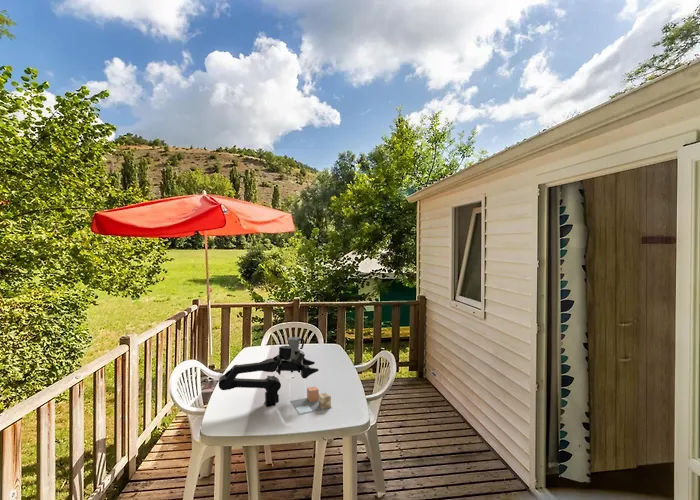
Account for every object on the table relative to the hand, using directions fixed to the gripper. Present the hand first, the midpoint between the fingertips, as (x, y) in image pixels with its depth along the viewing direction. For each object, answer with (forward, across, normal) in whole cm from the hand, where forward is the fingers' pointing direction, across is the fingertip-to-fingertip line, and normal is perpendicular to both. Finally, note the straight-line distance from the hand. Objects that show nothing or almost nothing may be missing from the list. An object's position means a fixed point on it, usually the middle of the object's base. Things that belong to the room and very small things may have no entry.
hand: (316, 366), depth 210 cm
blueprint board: (-4, -13, +17) cm, 21 cm away
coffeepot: (+6, +71, +25) cm, 75 cm away
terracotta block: (-1, -7, +16) cm, 17 cm away
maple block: (+3, -18, +14) cm, 23 cm away
